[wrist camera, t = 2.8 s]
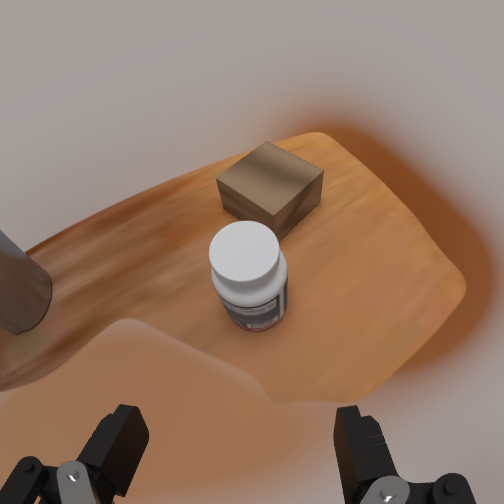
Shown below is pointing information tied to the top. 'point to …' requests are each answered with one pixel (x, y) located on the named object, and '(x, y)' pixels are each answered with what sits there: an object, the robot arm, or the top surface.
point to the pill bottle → (249, 274)
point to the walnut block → (271, 188)
